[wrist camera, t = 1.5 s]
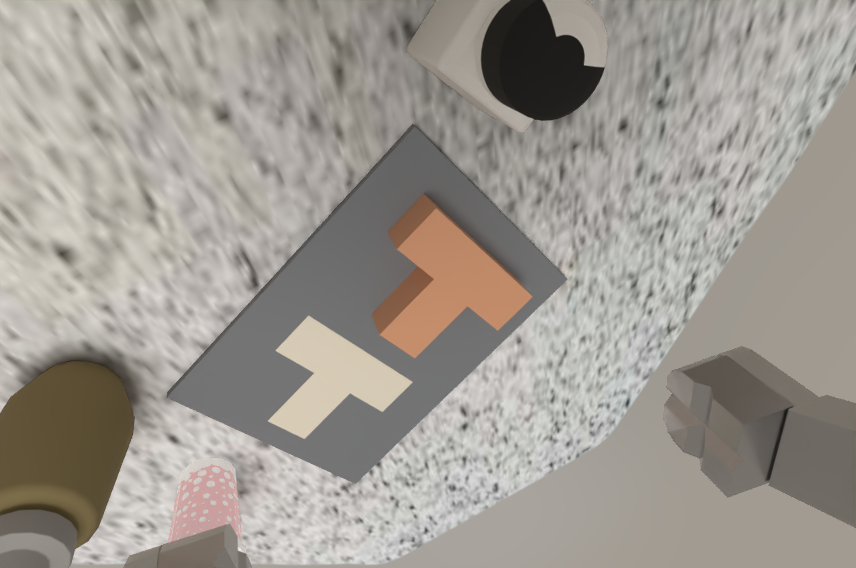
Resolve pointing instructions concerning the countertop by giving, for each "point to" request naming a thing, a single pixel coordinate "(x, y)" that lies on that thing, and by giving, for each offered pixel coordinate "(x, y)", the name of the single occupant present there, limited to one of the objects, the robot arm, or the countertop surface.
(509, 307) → the t block
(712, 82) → the countertop surface
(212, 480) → the beverage cup
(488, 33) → the medicine bottle
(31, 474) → the squeeze bottle
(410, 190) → the board
